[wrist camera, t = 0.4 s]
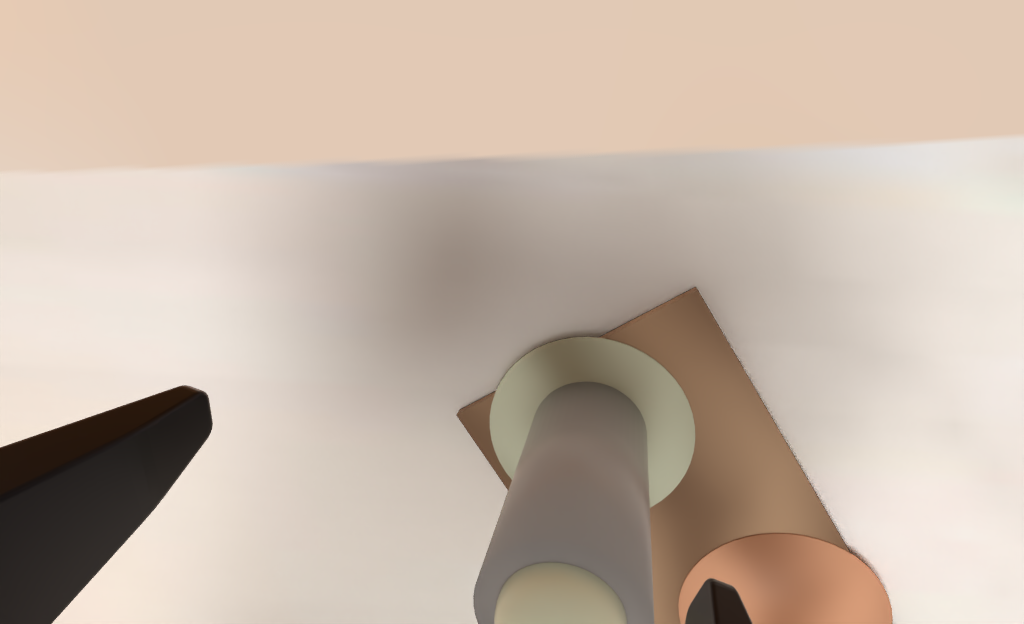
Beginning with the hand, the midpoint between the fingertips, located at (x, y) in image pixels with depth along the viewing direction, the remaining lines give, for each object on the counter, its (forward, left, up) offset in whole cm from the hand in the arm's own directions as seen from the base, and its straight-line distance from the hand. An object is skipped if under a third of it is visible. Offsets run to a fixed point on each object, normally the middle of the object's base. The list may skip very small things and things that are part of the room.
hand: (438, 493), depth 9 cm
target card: (-1, -14, -15) cm, 20 cm away
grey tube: (-2, -7, -15) cm, 16 cm away
